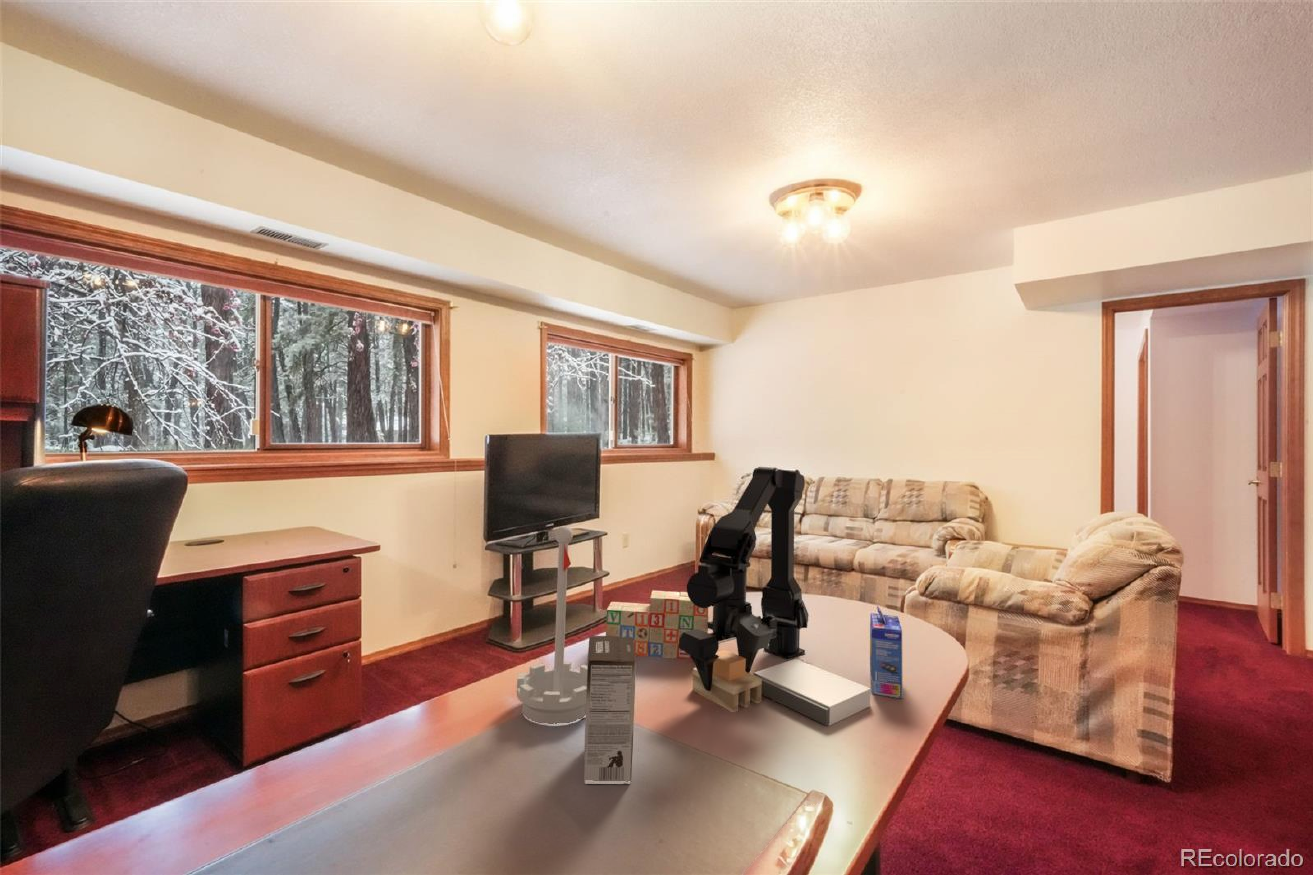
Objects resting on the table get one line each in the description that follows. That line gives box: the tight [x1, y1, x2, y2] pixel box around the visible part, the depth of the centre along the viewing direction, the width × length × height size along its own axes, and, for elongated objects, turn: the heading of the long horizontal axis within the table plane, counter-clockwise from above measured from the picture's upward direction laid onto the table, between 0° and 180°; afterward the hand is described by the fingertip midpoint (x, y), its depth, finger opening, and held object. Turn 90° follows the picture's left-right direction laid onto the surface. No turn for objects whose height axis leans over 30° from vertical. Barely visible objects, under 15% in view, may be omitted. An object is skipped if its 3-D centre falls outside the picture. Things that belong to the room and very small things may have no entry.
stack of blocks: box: [605, 590, 709, 660], centre depth 119 cm, size 21×6×12 cm, turn 85°
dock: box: [752, 658, 872, 727], centre depth 99 cm, size 13×16×3 cm
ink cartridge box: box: [869, 605, 904, 699], centre depth 105 cm, size 10×6×14 cm, turn 161°
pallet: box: [692, 667, 762, 713], centre depth 99 cm, size 7×10×4 cm
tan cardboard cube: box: [713, 649, 746, 681], centre depth 99 cm, size 4×5×3 cm
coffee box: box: [583, 635, 637, 782], centre depth 76 cm, size 9×6×16 cm
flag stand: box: [516, 525, 588, 724], centre depth 91 cm, size 13×13×30 cm
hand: (726, 684), depth 99 cm, fingers open, 9 cm apart
